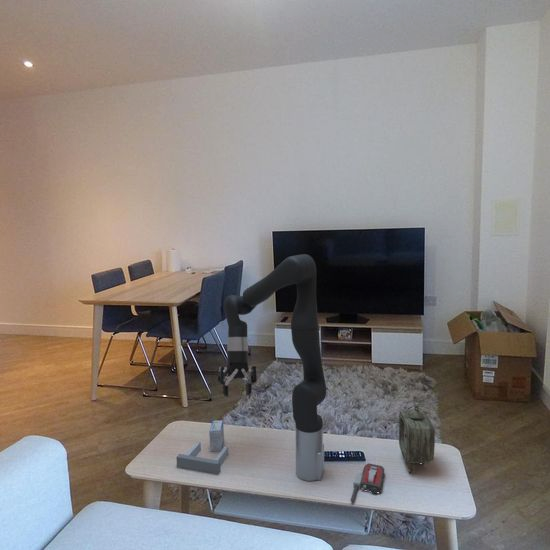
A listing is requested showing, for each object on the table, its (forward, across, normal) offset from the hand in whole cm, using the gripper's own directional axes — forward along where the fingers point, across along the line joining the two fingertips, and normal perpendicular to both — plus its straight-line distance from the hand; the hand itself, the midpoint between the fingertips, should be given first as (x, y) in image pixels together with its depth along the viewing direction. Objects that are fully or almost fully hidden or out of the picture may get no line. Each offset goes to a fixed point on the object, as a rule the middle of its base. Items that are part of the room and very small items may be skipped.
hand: (237, 395), depth 147 cm
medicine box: (+21, 0, +18) cm, 28 cm away
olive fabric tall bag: (+24, +56, -28) cm, 68 cm away
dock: (+23, -7, +12) cm, 27 cm away
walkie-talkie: (+29, +34, -28) cm, 53 cm away
